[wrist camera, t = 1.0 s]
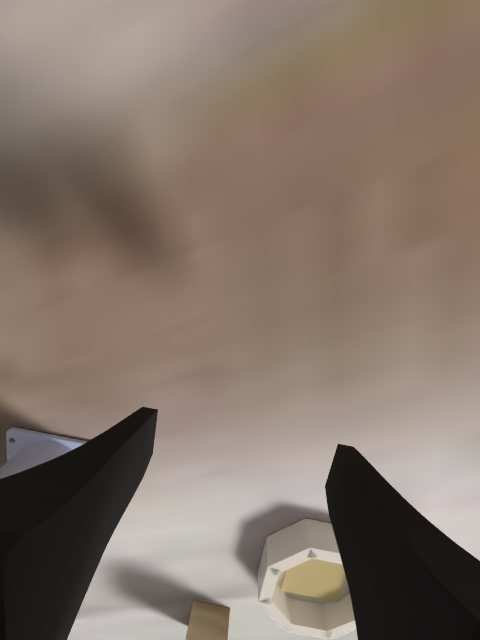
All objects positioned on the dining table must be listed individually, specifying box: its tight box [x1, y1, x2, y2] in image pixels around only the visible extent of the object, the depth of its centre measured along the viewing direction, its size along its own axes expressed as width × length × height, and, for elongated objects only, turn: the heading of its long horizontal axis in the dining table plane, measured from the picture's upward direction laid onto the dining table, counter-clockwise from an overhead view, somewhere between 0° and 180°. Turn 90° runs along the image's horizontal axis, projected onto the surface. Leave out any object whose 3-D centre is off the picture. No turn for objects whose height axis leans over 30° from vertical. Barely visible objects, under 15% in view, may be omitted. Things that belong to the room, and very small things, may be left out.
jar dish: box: [258, 518, 356, 640], centre depth 26 cm, size 9×9×2 cm
